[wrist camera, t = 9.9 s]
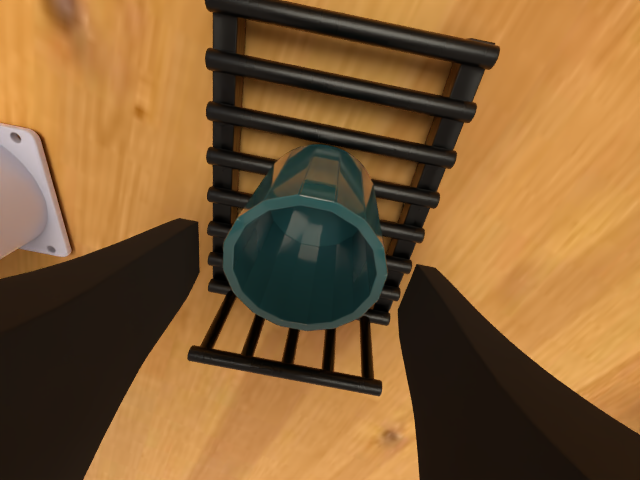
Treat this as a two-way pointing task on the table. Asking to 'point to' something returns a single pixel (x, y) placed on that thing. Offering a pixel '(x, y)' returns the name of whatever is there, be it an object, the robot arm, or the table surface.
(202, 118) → the table surface
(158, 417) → the table surface
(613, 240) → the table surface
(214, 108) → the rack
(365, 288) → the cup
